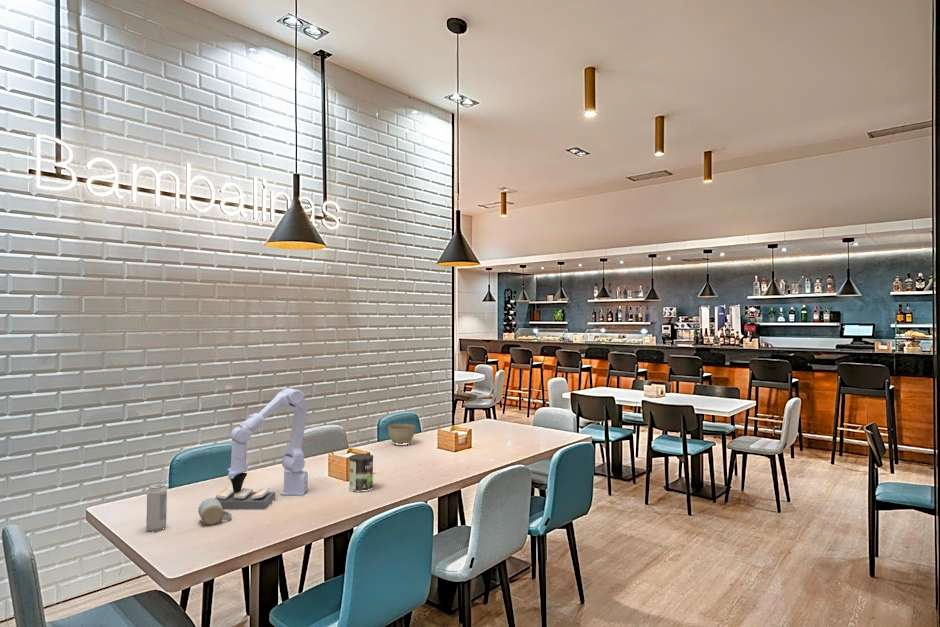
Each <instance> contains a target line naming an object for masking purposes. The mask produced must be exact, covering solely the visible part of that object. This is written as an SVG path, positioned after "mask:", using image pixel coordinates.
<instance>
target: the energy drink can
mask: <svg viewBox="0 0 940 627" xmlns="http://www.w3.org/2000/svg"><path fill="white" fill-rule="evenodd" d="M167 495H168V488H167V487H166V484H165V483H154V484H151V485H149V486H148V489H147V492H146V522H145V523H146V526H145V527H146V529H147V530H148V532H150V531H155V532H159V530H160V531H162V529H163V528H164V529H165V527H166V526H167V513H168V512H167V511H168V510H167V509H168V508H167V507H168V506H167V504H168V503H167V501H168V500H167V499H168V498H167V497H168V496H167ZM164 529H163V530H164Z"/></svg>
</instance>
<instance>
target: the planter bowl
mask: <svg viewBox="0 0 940 627" xmlns="http://www.w3.org/2000/svg"><path fill="white" fill-rule="evenodd" d="M387 431H388V436H389V438H390V440H391V442H392V443H393V442H394V443H398V444H403V443H409V442H410V443H411V441H412V440H413V439H414V435H415V431H416V425H414V424H411V423H393V424H389V425H388V426H387Z"/></svg>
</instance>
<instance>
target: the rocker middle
mask: <svg viewBox="0 0 940 627" xmlns="http://www.w3.org/2000/svg"><path fill="white" fill-rule="evenodd" d="M252 492H254V489H253V488H247V487H242V488H241V491H240V492H237V493H236V494H235V495H234V498H238V499H240V498H243V499H244V498H246V497H247V496H248V495H249V494H250V493H252Z"/></svg>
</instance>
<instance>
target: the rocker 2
mask: <svg viewBox="0 0 940 627" xmlns="http://www.w3.org/2000/svg"><path fill="white" fill-rule="evenodd" d="M256 492H257V493H255V494H254V495H253V496H252V499H256V498H257V499H258V498H260V497H263V496H264V495H265V494H266V493H267V492H271V488H270V487H265V488H262V489H259V490H258V491H256Z"/></svg>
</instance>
